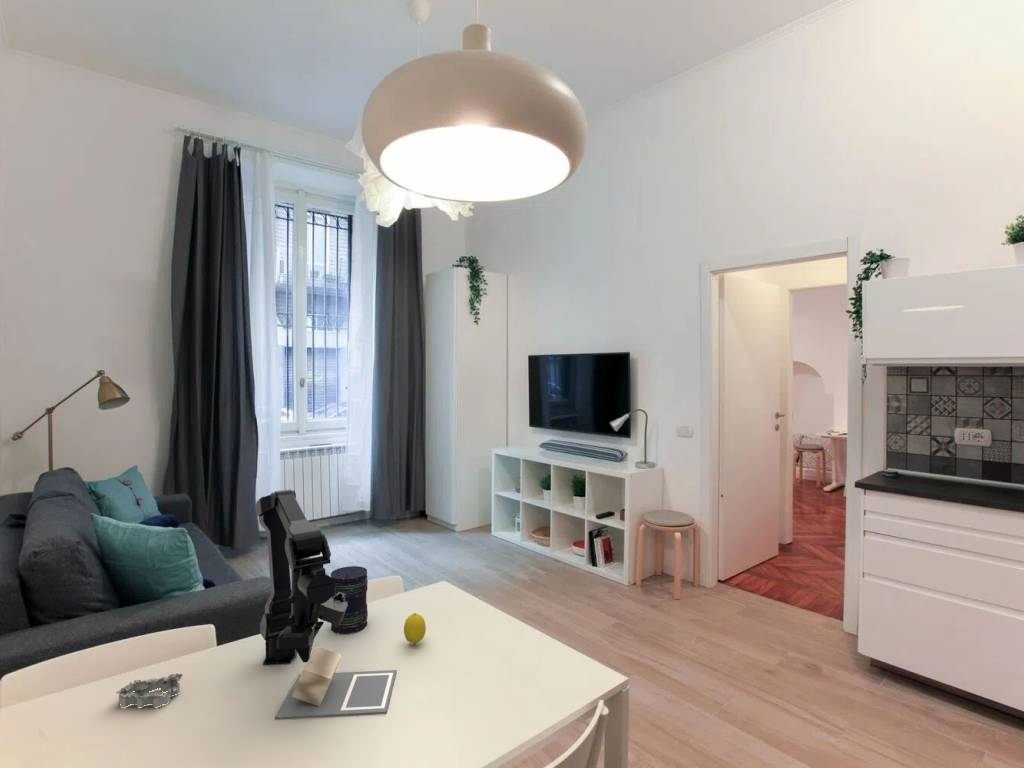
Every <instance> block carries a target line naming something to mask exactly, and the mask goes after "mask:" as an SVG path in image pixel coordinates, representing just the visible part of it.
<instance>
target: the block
mask: <svg viewBox="0 0 1024 768" xmlns="http://www.w3.org/2000/svg"><path fill="white" fill-rule="evenodd" d="M342 655H343V654H341V653H338V652H335V651H332V650H329V649H327V648H324V647H322V646H321V647H320V646H317V645H316V646H315V647H314V650H313V651H312V652H311V654H310V658H309V660H308V662H305V663H306V664H305V665H304V667H303V669H302V672H301V673H300V674H301V676H300V678H299V681H298V683H297V686H296V688H295V691H294V693H293V696H292V697H294V698H297V699H300V700H302V701H305V702H308V703H311V704H314V705H317V706H320V705H321V703H322V700H323V698H324V696H325V694H326V691H327V689H328V687H329V685H330V683H331V680H332V678H333V675H334V673H336V670H337V668H338V665H339V663H340V660H341V658H342Z"/></svg>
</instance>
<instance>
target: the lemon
mask: <svg viewBox="0 0 1024 768" xmlns="http://www.w3.org/2000/svg"><path fill="white" fill-rule="evenodd" d="M426 627H427V626H426V621H425V618H424V617H423V616H422V615H421V614H419V613H416V612H414V613H412V614H409V616H407V618H406V620H405V621H404V626H403V634H404V637H405V639H406V641H408V642H409V643H412V644H413V645H417V644H418V643H419V642H421V641H422V640H423V638H424V637H425V635H426V629H427V628H426Z"/></svg>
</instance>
